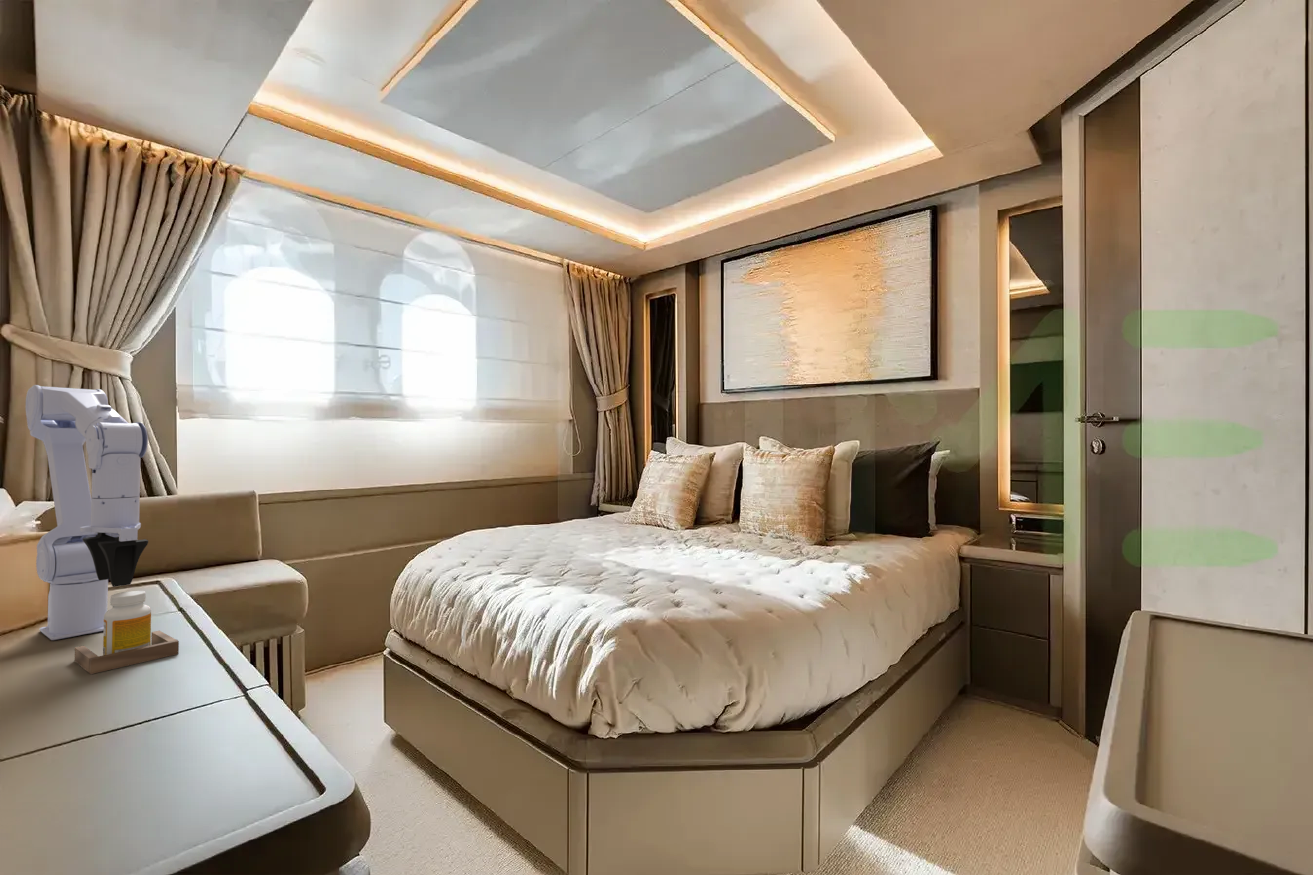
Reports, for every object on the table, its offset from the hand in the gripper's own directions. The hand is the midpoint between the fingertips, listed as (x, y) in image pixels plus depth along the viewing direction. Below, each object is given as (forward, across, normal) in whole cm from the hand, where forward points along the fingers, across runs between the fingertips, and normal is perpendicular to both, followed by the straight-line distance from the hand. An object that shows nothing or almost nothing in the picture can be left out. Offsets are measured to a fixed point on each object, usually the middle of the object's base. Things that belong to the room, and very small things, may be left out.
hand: (114, 582), depth 94 cm
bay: (+10, +7, 0) cm, 13 cm away
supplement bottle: (+11, +8, 0) cm, 13 cm away
